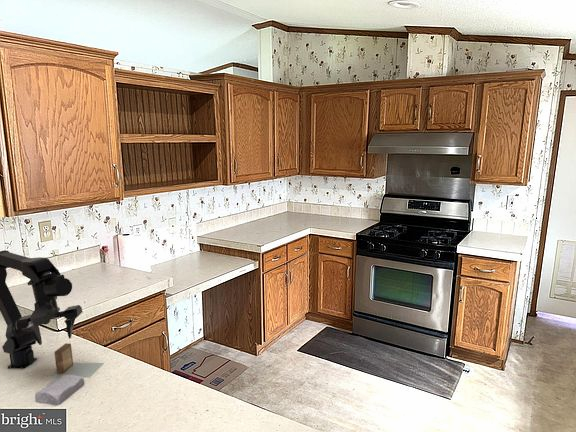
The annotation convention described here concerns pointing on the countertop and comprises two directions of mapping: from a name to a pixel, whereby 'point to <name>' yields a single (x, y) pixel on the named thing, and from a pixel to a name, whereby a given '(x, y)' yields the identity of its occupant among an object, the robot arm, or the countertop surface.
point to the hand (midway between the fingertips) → (55, 341)
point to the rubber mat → (79, 370)
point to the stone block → (59, 389)
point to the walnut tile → (63, 358)
